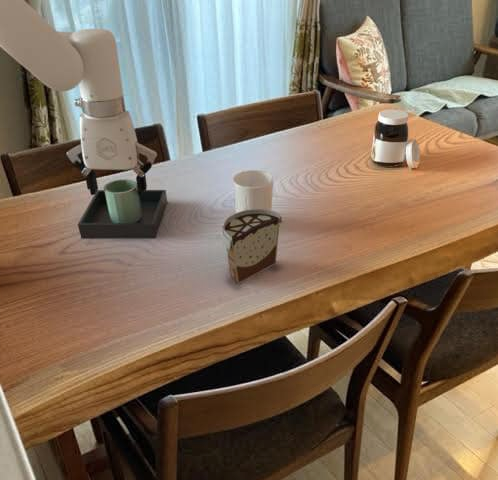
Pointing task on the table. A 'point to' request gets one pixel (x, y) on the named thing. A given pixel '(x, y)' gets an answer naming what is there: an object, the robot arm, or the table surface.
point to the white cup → (253, 190)
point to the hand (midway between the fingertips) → (118, 192)
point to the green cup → (123, 201)
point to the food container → (251, 242)
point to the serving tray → (101, 226)
